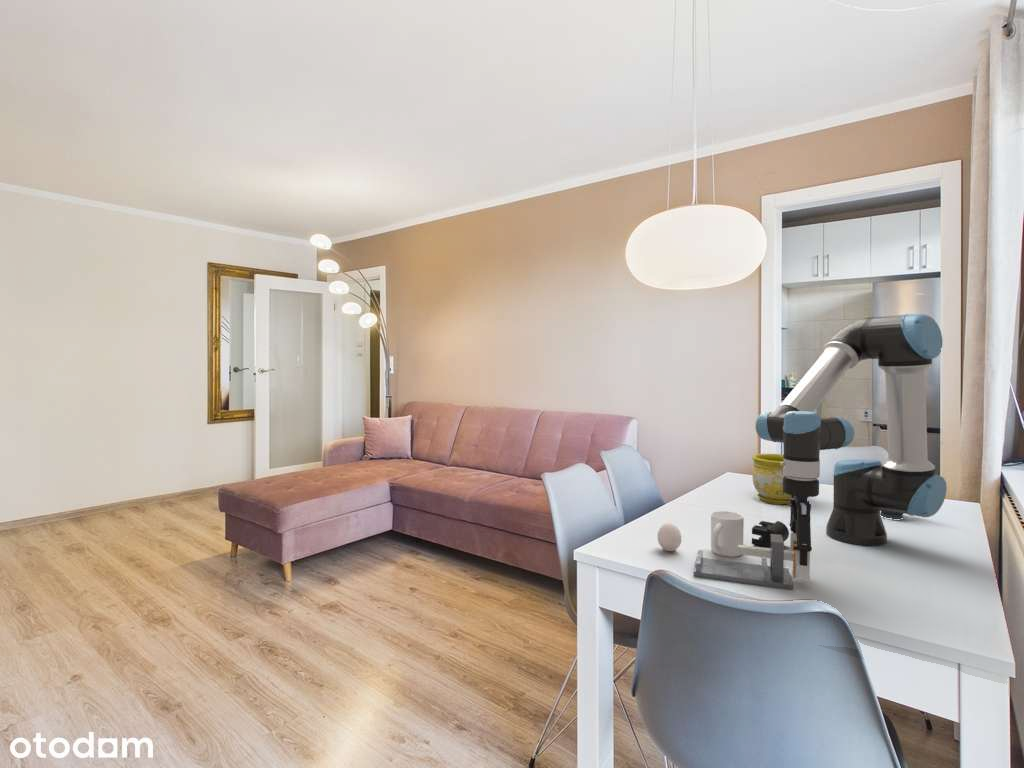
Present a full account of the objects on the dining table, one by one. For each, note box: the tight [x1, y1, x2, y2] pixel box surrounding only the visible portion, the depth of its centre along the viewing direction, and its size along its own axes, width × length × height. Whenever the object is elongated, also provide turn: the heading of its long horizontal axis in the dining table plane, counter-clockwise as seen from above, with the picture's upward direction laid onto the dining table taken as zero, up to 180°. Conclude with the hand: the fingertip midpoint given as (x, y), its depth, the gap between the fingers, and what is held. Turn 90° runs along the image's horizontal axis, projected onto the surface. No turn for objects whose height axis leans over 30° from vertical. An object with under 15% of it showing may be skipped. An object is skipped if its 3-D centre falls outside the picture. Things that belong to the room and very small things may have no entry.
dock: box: [693, 534, 794, 591], centre depth 130 cm, size 22×11×10 cm, turn 67°
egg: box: [657, 521, 682, 552], centre depth 148 cm, size 6×6×8 cm
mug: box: [710, 510, 745, 558], centre depth 145 cm, size 12×8×10 cm
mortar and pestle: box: [880, 508, 905, 519], centre depth 177 cm, size 11×9×12 cm
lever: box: [738, 541, 807, 579], centre depth 128 cm, size 15×3×8 cm, turn 67°
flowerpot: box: [751, 453, 792, 505], centre depth 201 cm, size 18×18×16 cm
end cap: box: [751, 520, 790, 548], centre depth 150 cm, size 10×7×7 cm
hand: (799, 568), depth 126 cm, fingers open, 12 cm apart
